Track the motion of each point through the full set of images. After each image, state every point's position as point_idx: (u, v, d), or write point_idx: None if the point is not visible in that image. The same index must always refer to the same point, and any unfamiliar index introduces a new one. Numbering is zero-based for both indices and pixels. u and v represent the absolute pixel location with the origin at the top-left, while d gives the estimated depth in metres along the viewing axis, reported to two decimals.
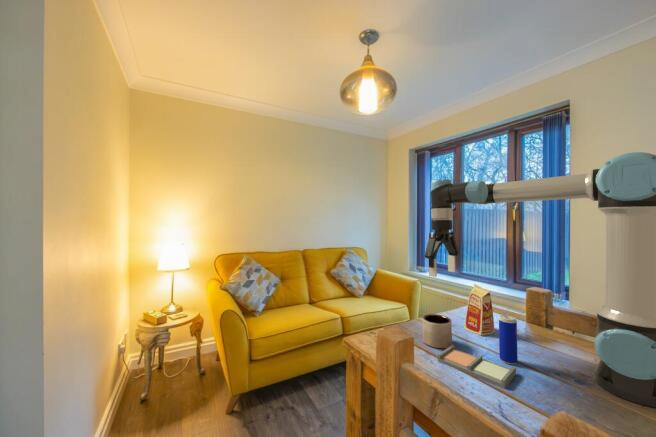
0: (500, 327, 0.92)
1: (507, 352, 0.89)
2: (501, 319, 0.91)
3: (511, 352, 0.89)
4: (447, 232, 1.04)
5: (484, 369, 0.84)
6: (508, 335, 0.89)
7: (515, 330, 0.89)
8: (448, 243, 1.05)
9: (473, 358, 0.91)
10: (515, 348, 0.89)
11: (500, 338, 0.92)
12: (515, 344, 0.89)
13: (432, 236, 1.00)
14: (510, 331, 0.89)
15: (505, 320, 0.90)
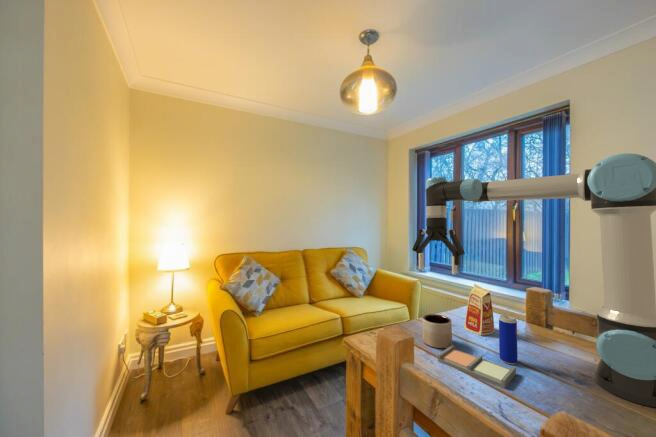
0: (500, 327, 0.92)
1: (507, 352, 0.89)
2: (501, 319, 0.91)
3: (511, 352, 0.89)
4: (440, 230, 1.02)
5: (484, 369, 0.84)
6: (508, 335, 0.89)
7: (515, 330, 0.89)
8: None
9: (473, 358, 0.91)
10: (515, 348, 0.89)
11: (500, 338, 0.92)
12: (515, 344, 0.89)
13: None
14: (510, 331, 0.89)
15: (505, 320, 0.90)
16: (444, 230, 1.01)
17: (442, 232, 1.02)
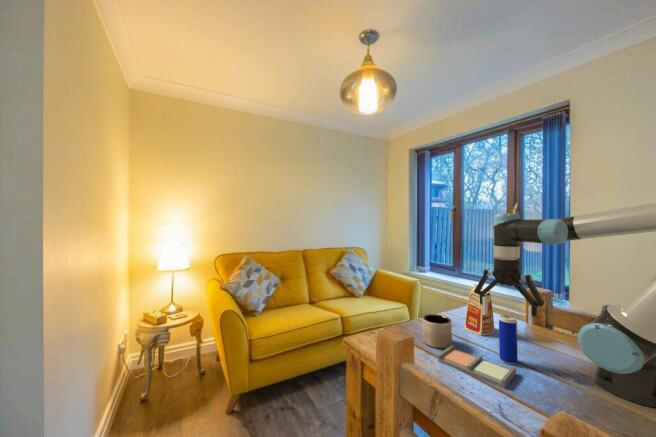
0: (500, 327, 0.92)
1: (507, 352, 0.89)
2: (501, 319, 0.91)
3: (511, 352, 0.89)
4: (513, 274, 0.89)
5: (484, 369, 0.84)
6: (508, 335, 0.89)
7: (515, 330, 0.89)
8: None
9: (473, 358, 0.91)
10: (515, 348, 0.89)
11: (500, 338, 0.92)
12: (515, 344, 0.89)
13: None
14: (510, 331, 0.89)
15: (505, 320, 0.90)
16: (518, 275, 0.88)
17: (515, 277, 0.89)
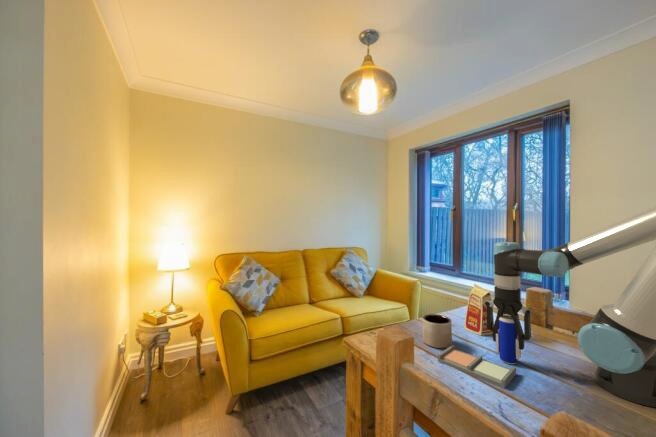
0: (500, 327, 0.92)
1: (507, 352, 0.89)
2: (501, 319, 0.91)
3: (511, 352, 0.89)
4: (515, 303, 0.89)
5: (484, 369, 0.84)
6: (508, 335, 0.89)
7: (515, 330, 0.89)
8: None
9: (473, 358, 0.91)
10: (515, 348, 0.89)
11: (500, 338, 0.92)
12: (515, 344, 0.89)
13: None
14: (510, 331, 0.89)
15: (505, 320, 0.90)
16: (520, 306, 0.88)
17: (516, 306, 0.89)
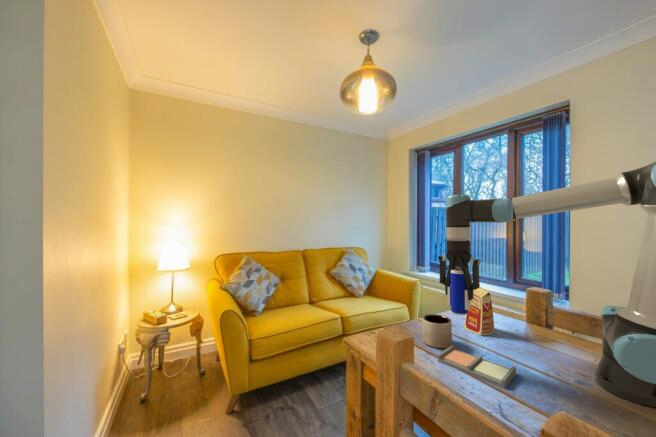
0: (451, 279, 0.92)
1: (457, 303, 0.90)
2: (452, 271, 0.92)
3: (460, 303, 0.90)
4: (464, 254, 0.89)
5: (484, 369, 0.84)
6: (457, 286, 0.90)
7: None
8: None
9: (473, 358, 0.91)
10: (464, 299, 0.90)
11: (451, 290, 0.92)
12: (464, 295, 0.90)
13: None
14: (460, 282, 0.90)
15: (455, 271, 0.91)
16: (468, 256, 0.89)
17: (465, 257, 0.89)
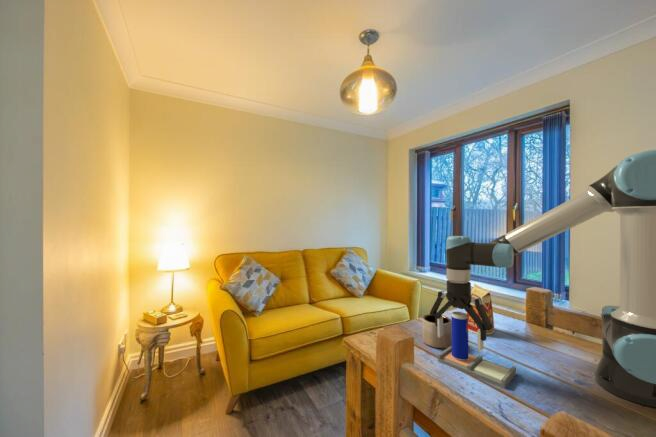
0: (452, 323, 0.92)
1: (458, 349, 0.90)
2: (453, 315, 0.92)
3: (461, 348, 0.89)
4: (463, 297, 0.90)
5: (484, 369, 0.84)
6: (458, 331, 0.90)
7: (466, 326, 0.90)
8: None
9: (473, 358, 0.91)
10: (465, 344, 0.89)
11: (452, 334, 0.92)
12: (465, 340, 0.89)
13: None
14: (461, 327, 0.89)
15: (456, 316, 0.90)
16: (468, 298, 0.89)
17: (466, 300, 0.89)
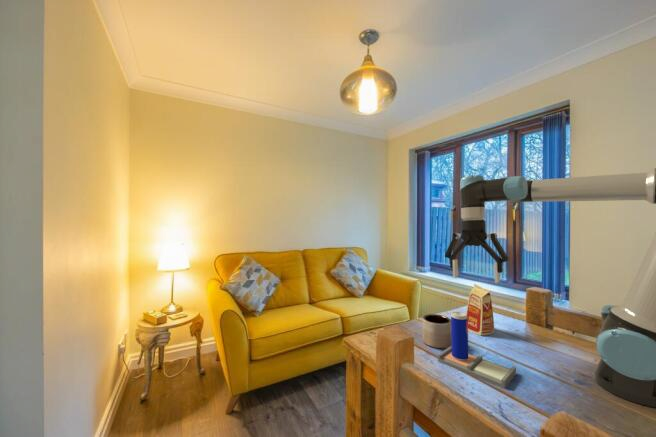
0: (452, 323, 0.92)
1: (458, 349, 0.90)
2: (452, 315, 0.92)
3: (461, 348, 0.89)
4: (479, 234, 0.92)
5: (484, 369, 0.84)
6: (458, 331, 0.90)
7: (465, 326, 0.90)
8: None
9: (473, 358, 0.91)
10: (465, 344, 0.89)
11: (452, 334, 0.92)
12: (465, 340, 0.89)
13: None
14: (460, 328, 0.89)
15: (456, 316, 0.90)
16: (484, 234, 0.91)
17: (481, 236, 0.92)
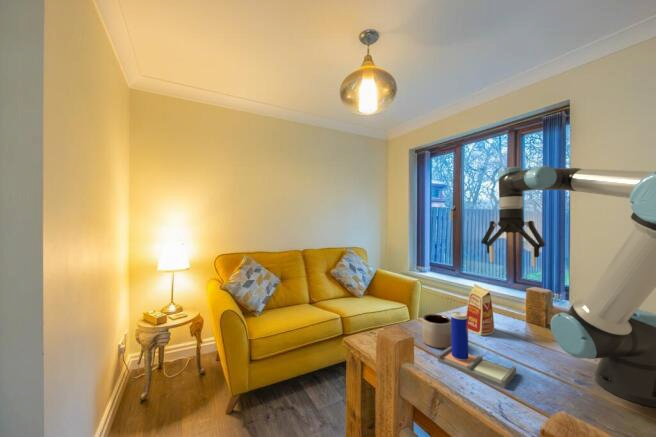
0: (452, 323, 0.92)
1: (458, 349, 0.90)
2: (452, 315, 0.92)
3: (461, 348, 0.89)
4: (516, 221, 0.99)
5: (484, 369, 0.84)
6: (458, 331, 0.90)
7: (465, 326, 0.90)
8: None
9: (473, 358, 0.91)
10: (465, 344, 0.89)
11: (452, 334, 0.92)
12: (465, 340, 0.89)
13: None
14: (460, 328, 0.89)
15: (456, 316, 0.90)
16: (521, 221, 0.98)
17: (519, 223, 0.99)
